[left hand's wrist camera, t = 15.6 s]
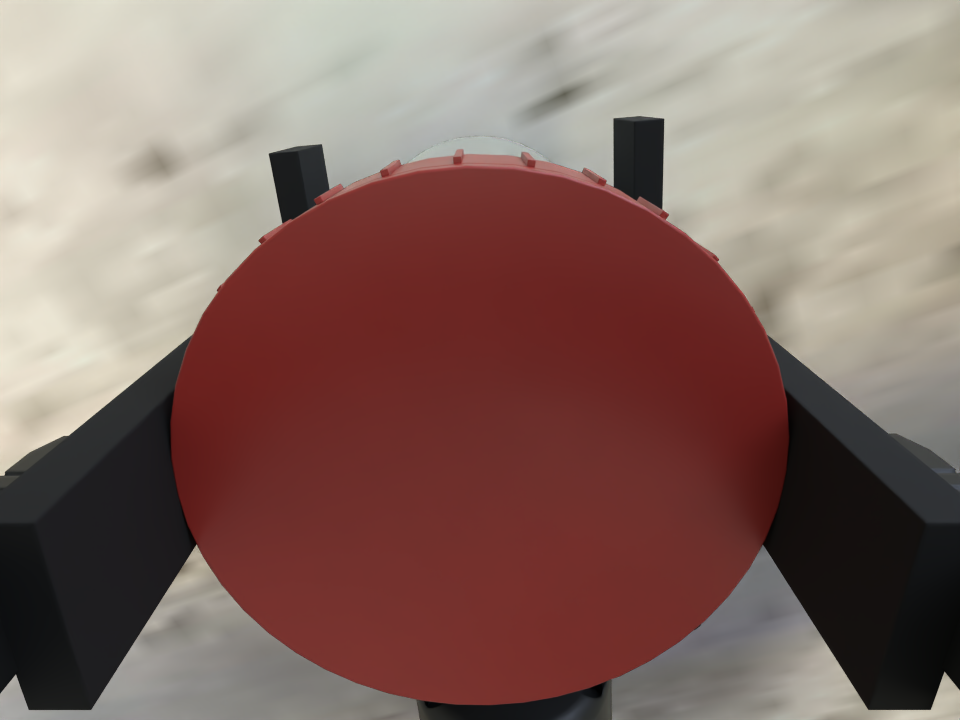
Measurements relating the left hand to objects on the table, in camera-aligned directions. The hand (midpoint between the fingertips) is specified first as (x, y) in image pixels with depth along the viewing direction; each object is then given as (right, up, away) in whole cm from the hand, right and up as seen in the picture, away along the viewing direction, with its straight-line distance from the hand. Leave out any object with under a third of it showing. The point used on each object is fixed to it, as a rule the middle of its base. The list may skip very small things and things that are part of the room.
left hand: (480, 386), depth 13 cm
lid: (0, -1, -3) cm, 3 cm away
